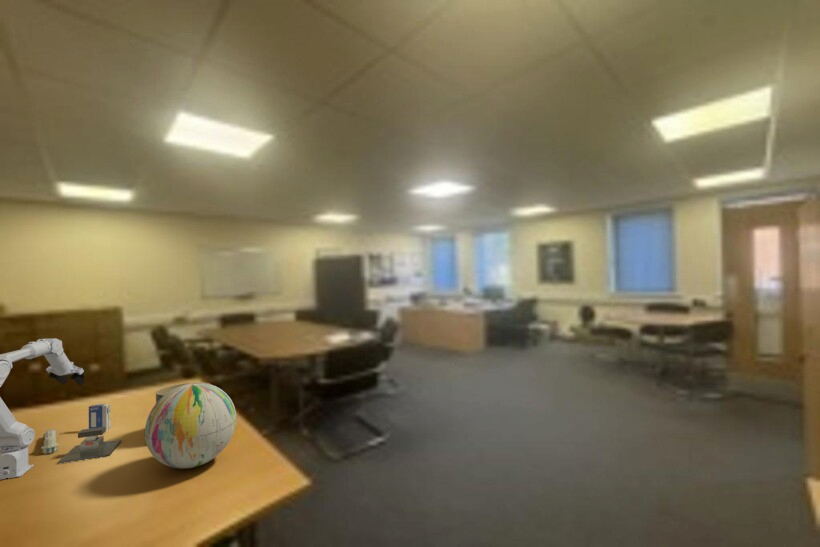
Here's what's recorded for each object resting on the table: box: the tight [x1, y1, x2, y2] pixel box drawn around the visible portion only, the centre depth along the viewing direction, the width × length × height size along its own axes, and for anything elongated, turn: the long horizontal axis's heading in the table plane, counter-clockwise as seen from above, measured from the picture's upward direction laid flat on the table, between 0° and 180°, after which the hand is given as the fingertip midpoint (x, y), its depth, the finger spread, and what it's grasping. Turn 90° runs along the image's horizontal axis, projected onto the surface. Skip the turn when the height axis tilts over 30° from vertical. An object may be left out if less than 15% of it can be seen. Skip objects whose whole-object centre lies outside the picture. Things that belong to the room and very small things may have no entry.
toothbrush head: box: [40, 428, 60, 455], centre depth 169 cm, size 5×7×25 cm
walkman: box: [88, 403, 111, 431], centre depth 186 cm, size 8×3×12 cm, turn 98°
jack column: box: [77, 427, 107, 442], centre depth 161 cm, size 4×8×8 cm, turn 112°
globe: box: [144, 382, 237, 469], centre depth 148 cm, size 30×30×30 cm
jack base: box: [58, 435, 123, 465], centre depth 161 cm, size 16×16×5 cm
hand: (73, 383), depth 173 cm, fingers open, 7 cm apart
